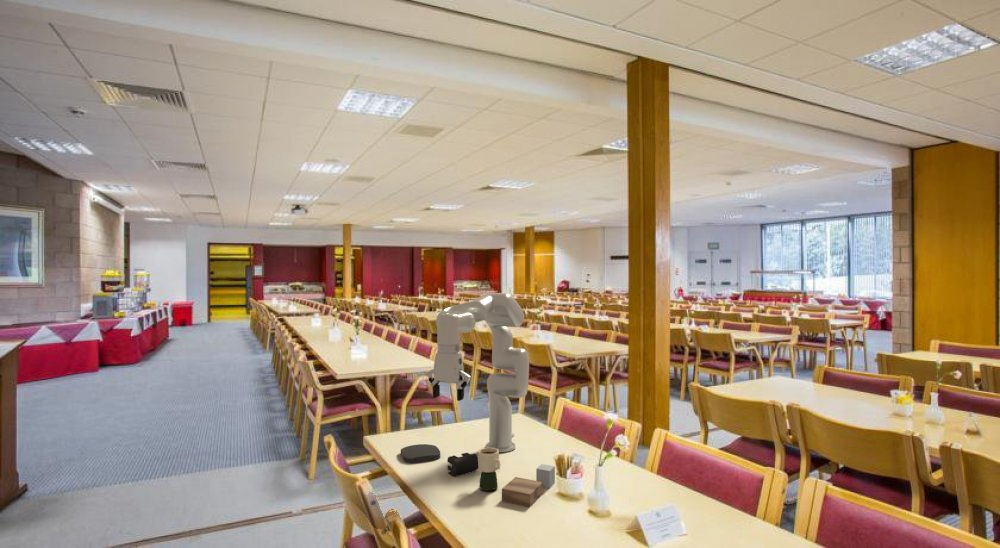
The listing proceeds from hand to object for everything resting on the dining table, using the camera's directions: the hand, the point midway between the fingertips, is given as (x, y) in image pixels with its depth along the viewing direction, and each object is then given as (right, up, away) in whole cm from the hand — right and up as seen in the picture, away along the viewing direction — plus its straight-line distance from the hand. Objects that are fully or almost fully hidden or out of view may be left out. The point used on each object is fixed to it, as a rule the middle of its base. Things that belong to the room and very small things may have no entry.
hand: (448, 398), depth 183 cm
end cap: (+4, -31, +12) cm, 33 cm away
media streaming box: (-14, -31, +31) cm, 46 cm away
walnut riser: (+25, -31, -9) cm, 41 cm away
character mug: (+14, -31, -2) cm, 34 cm away
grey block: (+34, -31, +2) cm, 46 cm away
